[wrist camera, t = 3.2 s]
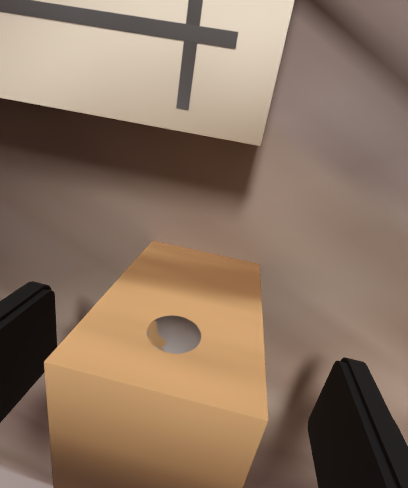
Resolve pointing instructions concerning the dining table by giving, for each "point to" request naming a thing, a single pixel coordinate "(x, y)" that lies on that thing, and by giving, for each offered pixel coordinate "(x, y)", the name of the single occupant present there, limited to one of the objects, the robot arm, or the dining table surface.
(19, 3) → the birch board
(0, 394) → the robot arm
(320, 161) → the dining table surface
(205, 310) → the marking gauge
